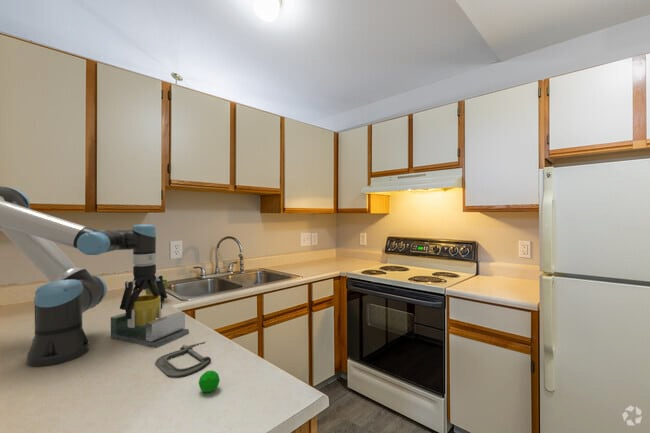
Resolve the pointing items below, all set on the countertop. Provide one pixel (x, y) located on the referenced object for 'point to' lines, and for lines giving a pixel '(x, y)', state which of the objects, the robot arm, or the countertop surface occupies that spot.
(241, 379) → the countertop surface
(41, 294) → the robot arm
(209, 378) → the polyhedron
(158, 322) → the steel jaw
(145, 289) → the plant pot
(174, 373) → the c clamp
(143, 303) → the plant pot
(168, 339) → the vise base
